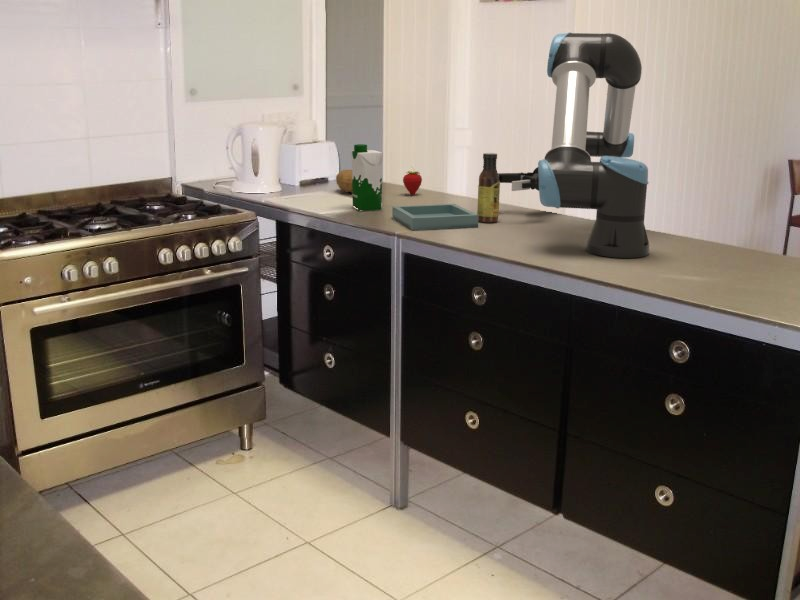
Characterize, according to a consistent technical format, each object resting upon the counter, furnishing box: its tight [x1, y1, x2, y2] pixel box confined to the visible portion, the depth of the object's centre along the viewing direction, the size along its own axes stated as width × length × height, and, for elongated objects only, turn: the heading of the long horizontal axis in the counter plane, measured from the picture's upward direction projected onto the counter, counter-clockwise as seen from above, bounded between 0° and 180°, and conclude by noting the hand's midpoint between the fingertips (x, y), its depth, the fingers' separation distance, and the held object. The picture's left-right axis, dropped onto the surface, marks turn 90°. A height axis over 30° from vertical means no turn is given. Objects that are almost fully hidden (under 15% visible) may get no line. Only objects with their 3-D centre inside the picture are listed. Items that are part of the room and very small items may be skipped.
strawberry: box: [402, 165, 423, 196], centre depth 299 cm, size 6×8×10 cm
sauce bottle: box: [476, 152, 501, 224], centre depth 253 cm, size 6×6×20 cm
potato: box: [336, 169, 352, 193], centre depth 304 cm, size 10×14×8 cm
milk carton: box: [350, 143, 384, 211], centre depth 271 cm, size 9×9×20 cm
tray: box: [391, 203, 479, 232], centre depth 252 cm, size 20×20×4 cm
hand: (496, 183), depth 255 cm, fingers open, 13 cm apart
